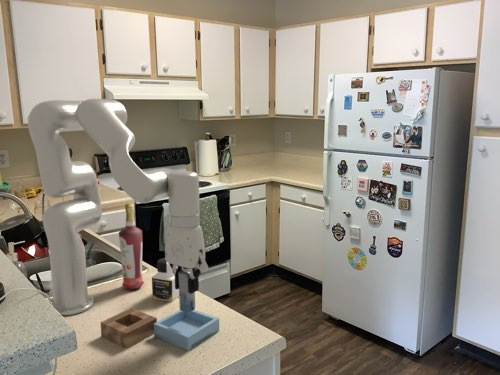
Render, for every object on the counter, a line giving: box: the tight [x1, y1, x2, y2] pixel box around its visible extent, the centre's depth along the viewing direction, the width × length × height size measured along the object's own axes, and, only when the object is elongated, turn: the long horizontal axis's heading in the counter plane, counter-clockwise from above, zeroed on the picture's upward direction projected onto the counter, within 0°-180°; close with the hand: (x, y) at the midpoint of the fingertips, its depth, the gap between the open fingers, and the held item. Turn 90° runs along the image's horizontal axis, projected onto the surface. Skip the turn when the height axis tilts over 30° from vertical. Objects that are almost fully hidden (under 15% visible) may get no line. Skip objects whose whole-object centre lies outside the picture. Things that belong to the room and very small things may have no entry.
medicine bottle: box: [151, 257, 179, 302], centre depth 139 cm, size 7×7×12 cm
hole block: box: [100, 307, 158, 349], centre depth 116 cm, size 10×10×4 cm
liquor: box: [118, 202, 145, 291], centre depth 143 cm, size 7×7×28 cm
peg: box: [178, 268, 196, 312], centre depth 114 cm, size 4×4×10 cm
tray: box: [153, 309, 220, 352], centre depth 116 cm, size 12×12×4 cm
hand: (186, 289), depth 114 cm, fingers closed on peg, 4 cm apart
